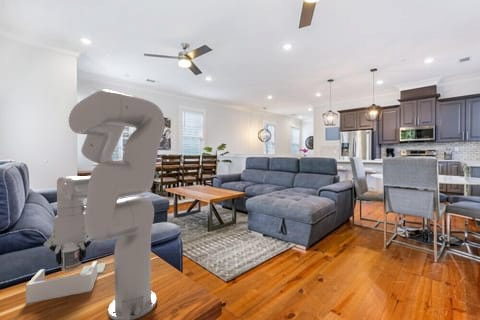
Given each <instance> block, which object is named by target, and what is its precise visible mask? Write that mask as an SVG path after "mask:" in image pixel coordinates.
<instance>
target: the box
mask: <svg viewBox="0 0 480 320" xmlns="http://www.w3.org/2000/svg"><path fill="white" fill-rule="evenodd" d="M97 264H98V261H97V260H96V261H95V260H94V261H92V263H91V264H90V265H91V267H90V269H89V272H88V273H85V274H80V273H79V274H74V275H68V276H62V277H61V276H60V277H57V278H56V277H55V278H51V279H46V278H45V277H46V276H45V275H46V274H45V273H46V269H45V268H42V269H41V268H40V269H39V270H38V271H37V272H36V274H35V275H33V277H32V278H31V280H29V281H28V282H27V283H26V284H25V304H31V303H36V302H41V301H42V302H43V301H46V300H52V299H57V298H63V297H68V296H72V295H78V294H83V293H88V292H92V291H93V288H94V285H95V283H96V281H97V278H98V274H97Z"/></svg>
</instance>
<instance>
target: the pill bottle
mask: <svg viewBox="0 0 480 320" xmlns="http://www.w3.org/2000/svg"><path fill="white" fill-rule="evenodd" d="M61 249H62V250H61V264H60V265H61V271H62V272H72V271H75V270H77V269H79V268H80V267H81V266H82V261H80V250H81V247H80V245H79V243H73V242H70V243H65V244H64V245H63V246H62V248H61Z"/></svg>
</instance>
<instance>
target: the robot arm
mask: <svg viewBox="0 0 480 320" xmlns="http://www.w3.org/2000/svg"><path fill="white" fill-rule="evenodd" d="M68 126H69V128H70V129H71V131H72V132H74V133H75V134H79V135H85V139H84V141H83V144H82V147H81V153H82V155H83V157H85V158H86V159H87V160H89V161H91V162H93V163H96V164H97V165H95V167H94V168H93V169H92V171H91V173H90V175H87V176H86V175H85V176H80V175H66V176H64V175H63V176H61V177H58V179H57V180H56V207H57V208H56V210H57V212H56V215H55V216H54V220H53V225H52V233H51V236H50V237H49V238H48V239H47V240H46V241H45V242H44V243H43V246H45V247H46V248H48V249H49V250H50V251H52V252H53V253H54V255H55V262H56V263H57V266H60V265H61V250H62V248H63V247H64V246H63V245H64V244H65V243H70V242H73V243H78V244H79V245H80V247H81V250H80V261H81V262H83V261H84V259H85V258H86V257H87V251H86V250H87V248H88V247H89V246H90V245H91V244H92V243H93V242H94V241H96V242H102V241H108V240H110V239H114V238H116V237H117V239H116V241H115V245H114V249H113V251H114V252H113V253H114V254H113V255H114V256H113V257H114V258H113V259H114V263H113V264H114V266H113V267H114V271H113V272H114V299H113V301H112V302H111V303H110V304H109V306H108V313H107V314H108V316H109V318H110V319H112V320H136V319H139V318H141V317H143V316H146V315H147V314H148V313H150V312H151V311H152V310H153V309H154V308H155V307H156V304H157V302H158V301H157V299H158V298H157V295H156V293H155V292H153V290H152V266H151V265H152V260H151V259H152V258H151V256H152V242H151V241H152V230H153V224H154V218H155V207H154V204H153V203H152V201H151V200H150V199H149V198H147V197H144V196H142V195H141V194H145V193H147V192H148V191H150V190H151V189H152V187H153V185H154V179H155V175H156V174H155V173H156V165H157V162H158V161H157V159H158V152H159V147H160V144H161V140H162V137H163V134H164V130H165V117H164V113H163V110H162V109H161V108H160V107H159V106H158V105H157V104H155V103H154V102H152V101H150V100H147V99H146V98H141V97H137V96H133V95H129V94H126V93H122V92H117V91H113V90H109V89H102V90H97V91H95V92H94V93H92V94H90V95H88V96H87V97H85V98H83V99H82V100H80V101H79V102H77V104H75V105H74V106H73V108H72V109H71V111H70V113H69V117H68ZM125 127H128V128H129V127H130V128H135V130H134V131H133V132H132V133H131V134H130V135H129V137H128V138H127V140H126V141H125V144H124V153H123V157H122V159H121V160H113V158H112V156H113V154H114V152H115V150H116V147H117V146H118V143H119V141H120V139H121V136H122V134H123V132H124V130H125ZM136 195H137V196H136ZM138 195H139V196H138ZM140 195H141V196H140ZM84 199H85V200H86V202H85V203H86V205H85V204H84ZM88 238H89V239H88ZM87 239H88V240H87Z"/></svg>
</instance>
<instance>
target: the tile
mask: <svg viewBox="0 0 480 320" xmlns="http://www.w3.org/2000/svg"><path fill="white" fill-rule="evenodd" d="M91 265H92V264H87V265H83V268H82V269H81V271H80V273H79V274H85V273H88V272H89V269H90V267H91ZM106 266H107V262H102V263H97V275H98V274H103V273H104V271H105V269H106Z"/></svg>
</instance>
